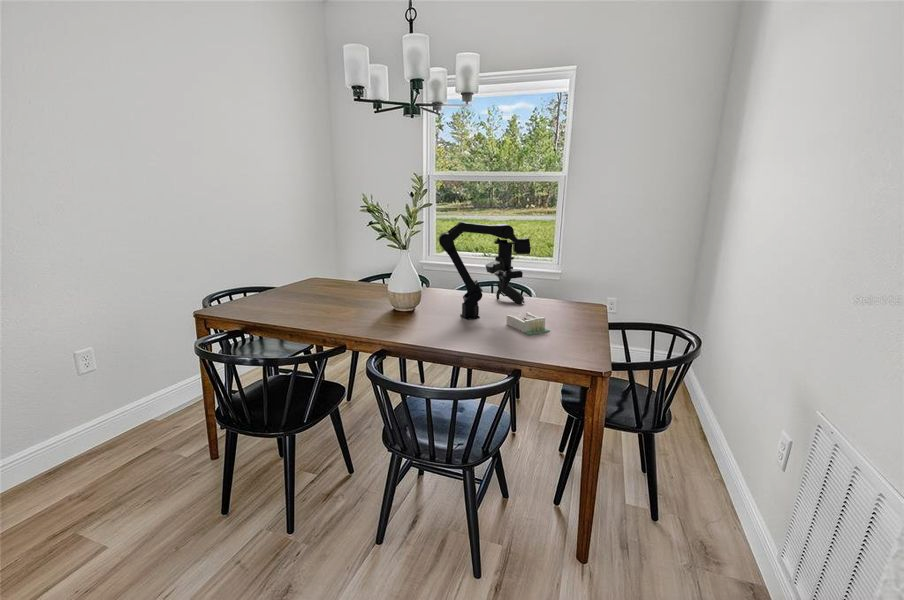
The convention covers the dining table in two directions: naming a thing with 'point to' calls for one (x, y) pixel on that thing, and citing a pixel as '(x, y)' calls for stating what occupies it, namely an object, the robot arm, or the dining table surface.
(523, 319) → the orange base grey top
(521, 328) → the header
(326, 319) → the dining table surface
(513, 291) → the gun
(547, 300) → the dining table surface
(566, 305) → the dining table surface
